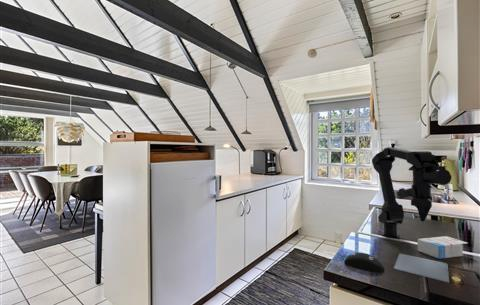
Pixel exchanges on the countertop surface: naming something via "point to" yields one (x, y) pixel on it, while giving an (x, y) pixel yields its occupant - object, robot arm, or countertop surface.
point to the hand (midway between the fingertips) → (422, 221)
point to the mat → (422, 267)
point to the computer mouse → (364, 262)
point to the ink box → (441, 247)
